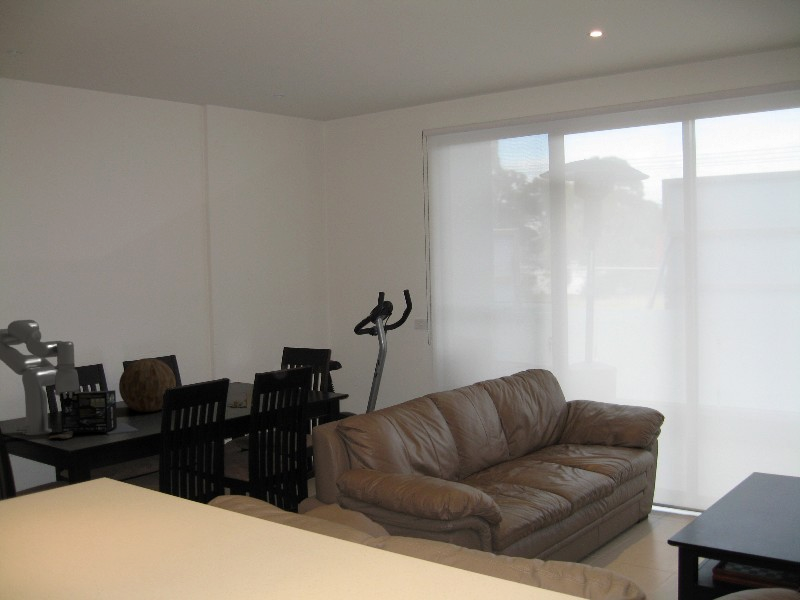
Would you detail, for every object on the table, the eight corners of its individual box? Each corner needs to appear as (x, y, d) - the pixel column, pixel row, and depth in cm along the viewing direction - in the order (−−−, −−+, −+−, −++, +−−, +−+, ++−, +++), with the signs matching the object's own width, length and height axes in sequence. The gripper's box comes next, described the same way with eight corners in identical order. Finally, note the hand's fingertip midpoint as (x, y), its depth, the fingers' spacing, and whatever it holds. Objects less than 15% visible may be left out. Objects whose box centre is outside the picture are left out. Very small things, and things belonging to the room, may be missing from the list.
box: (117, 428, 381) (115, 389, 381) (108, 431, 371) (106, 391, 371) (72, 430, 383) (70, 392, 384) (61, 434, 373) (59, 394, 374)
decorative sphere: (163, 417, 417) (161, 360, 417) (110, 417, 421) (108, 361, 420) (185, 407, 447) (183, 355, 447) (135, 408, 451) (133, 356, 450)
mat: (108, 434, 370) (108, 433, 370) (95, 427, 390) (95, 426, 390) (138, 431, 378) (138, 429, 378) (123, 424, 398) (123, 423, 398)
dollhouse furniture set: (245, 405, 454) (244, 386, 454) (260, 406, 445) (259, 387, 445) (227, 408, 444) (226, 388, 444) (242, 410, 436) (241, 390, 436)
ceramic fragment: (63, 436, 359) (47, 432, 363) (62, 443, 359) (47, 438, 364) (81, 432, 369) (66, 428, 373) (81, 438, 369) (66, 434, 373)
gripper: (50, 369, 363) (52, 409, 364) (84, 366, 372) (86, 405, 372) (47, 368, 369) (49, 407, 370) (80, 365, 378) (82, 403, 378)
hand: (67, 406), depth 371 cm, fingers closed
